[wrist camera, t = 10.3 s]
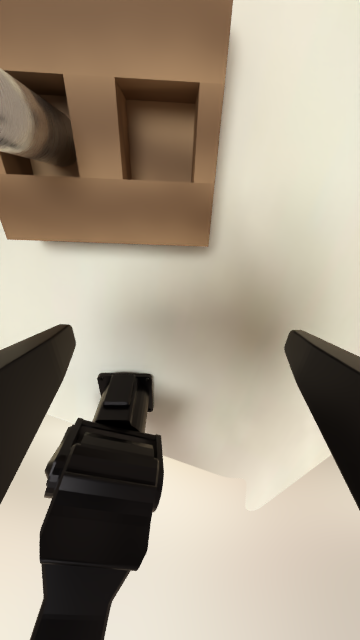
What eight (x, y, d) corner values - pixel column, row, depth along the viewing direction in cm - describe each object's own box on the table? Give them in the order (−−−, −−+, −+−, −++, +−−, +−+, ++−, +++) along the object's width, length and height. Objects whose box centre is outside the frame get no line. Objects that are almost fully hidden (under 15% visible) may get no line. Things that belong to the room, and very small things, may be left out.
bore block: (202, 238, 18) (208, 246, 15) (35, 231, 18) (7, 239, 15) (221, 17, 12) (237, -41, 9) (-30, -1, 12) (-101, -69, 9)
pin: (84, 168, 15) (6, 145, 8) (41, 165, 15) (-74, 139, 8) (76, 111, 14) (-26, 26, 7) (28, 107, 14) (-124, 17, 7)
